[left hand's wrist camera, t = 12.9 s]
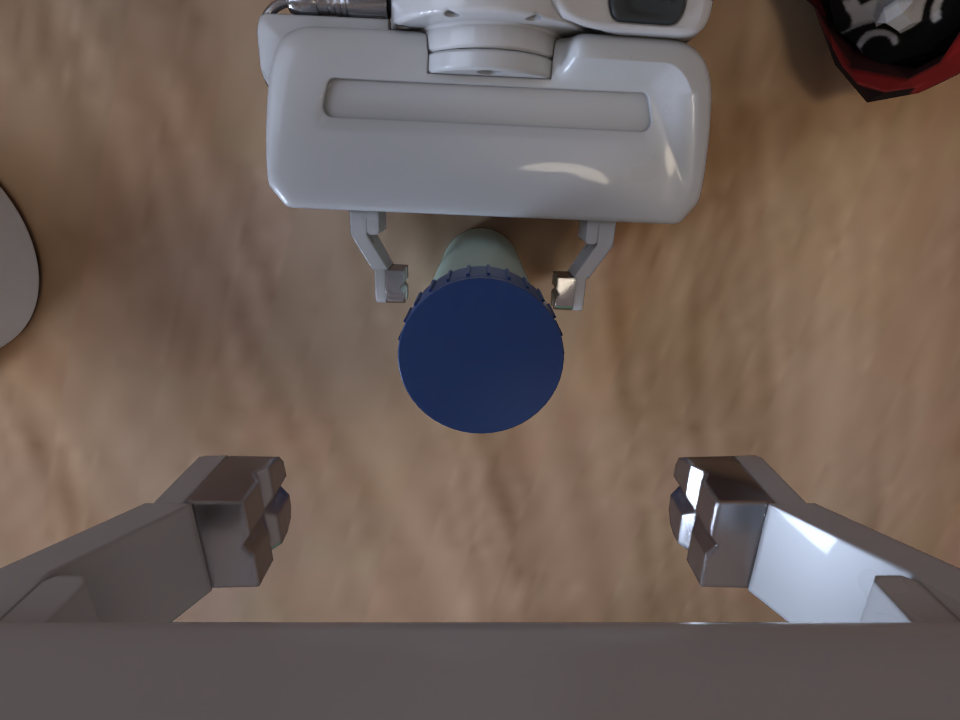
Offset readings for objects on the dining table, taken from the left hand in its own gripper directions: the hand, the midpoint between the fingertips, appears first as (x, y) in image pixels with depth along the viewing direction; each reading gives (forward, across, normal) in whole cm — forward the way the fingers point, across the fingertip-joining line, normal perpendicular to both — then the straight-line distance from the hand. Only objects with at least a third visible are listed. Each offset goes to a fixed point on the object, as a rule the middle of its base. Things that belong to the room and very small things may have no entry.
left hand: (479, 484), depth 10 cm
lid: (+7, 0, 0) cm, 7 cm away
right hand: (+18, 0, -1) cm, 18 cm away
